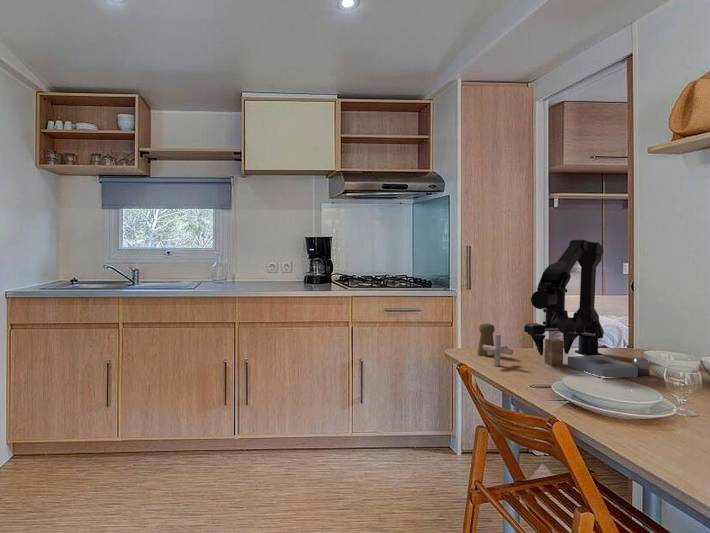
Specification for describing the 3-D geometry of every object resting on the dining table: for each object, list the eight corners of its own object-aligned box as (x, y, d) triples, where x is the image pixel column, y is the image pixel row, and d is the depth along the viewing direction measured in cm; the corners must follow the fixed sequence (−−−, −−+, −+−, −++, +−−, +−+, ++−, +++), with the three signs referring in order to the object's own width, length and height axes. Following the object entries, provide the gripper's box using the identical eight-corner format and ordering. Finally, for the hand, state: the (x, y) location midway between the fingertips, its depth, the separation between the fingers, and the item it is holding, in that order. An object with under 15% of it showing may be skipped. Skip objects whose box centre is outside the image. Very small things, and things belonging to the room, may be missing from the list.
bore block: (567, 366, 163) (567, 356, 163) (599, 364, 166) (600, 355, 165) (602, 379, 147) (602, 368, 147) (637, 377, 150) (637, 366, 150)
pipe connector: (491, 360, 170) (492, 330, 169) (519, 365, 163) (519, 334, 162) (475, 365, 163) (475, 334, 162) (503, 371, 156) (504, 338, 155)
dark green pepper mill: (481, 352, 182) (482, 321, 182) (497, 354, 179) (498, 323, 178) (474, 355, 178) (475, 324, 177) (491, 357, 174) (492, 325, 174)
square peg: (544, 363, 167) (545, 339, 166) (555, 362, 167) (555, 338, 167) (551, 366, 163) (552, 341, 162) (562, 365, 164) (563, 340, 163)
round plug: (628, 373, 154) (629, 357, 154) (641, 372, 155) (642, 356, 155) (640, 377, 150) (640, 360, 150) (653, 376, 151) (653, 359, 151)
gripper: (544, 310, 154) (542, 361, 155) (597, 309, 159) (595, 358, 159) (523, 306, 165) (522, 353, 166) (574, 305, 169) (573, 351, 170)
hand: (553, 354), depth 165 cm, fingers open, 9 cm apart
